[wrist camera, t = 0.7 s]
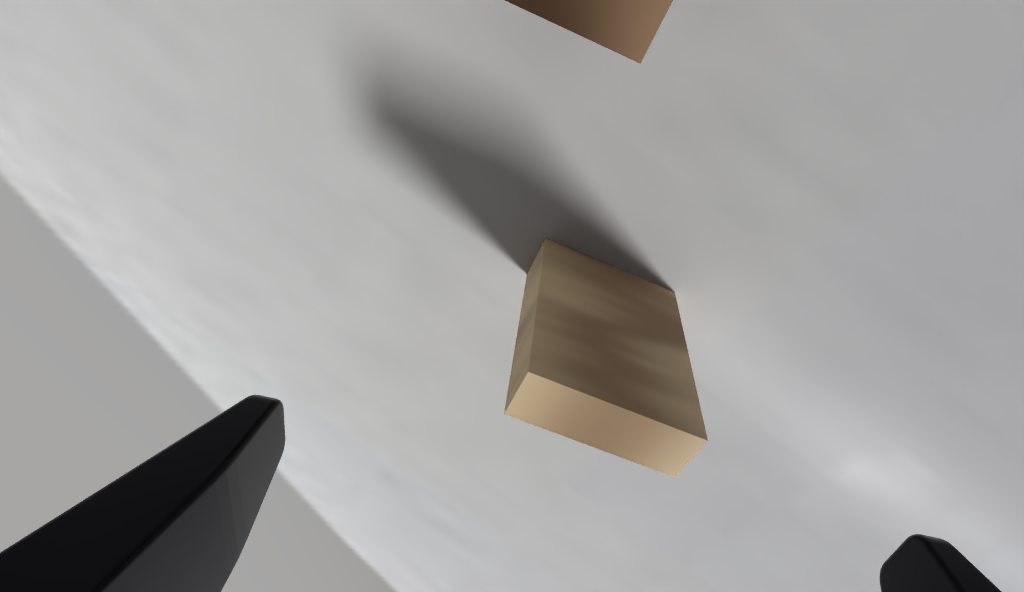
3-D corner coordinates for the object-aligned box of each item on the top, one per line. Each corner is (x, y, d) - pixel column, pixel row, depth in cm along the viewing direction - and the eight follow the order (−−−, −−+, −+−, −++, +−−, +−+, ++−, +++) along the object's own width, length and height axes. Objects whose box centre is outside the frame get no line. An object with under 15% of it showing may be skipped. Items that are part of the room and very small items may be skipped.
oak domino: (674, 292, 21) (707, 440, 15) (652, 324, 22) (674, 477, 16) (544, 238, 20) (527, 371, 15) (527, 274, 21) (504, 413, 15)
